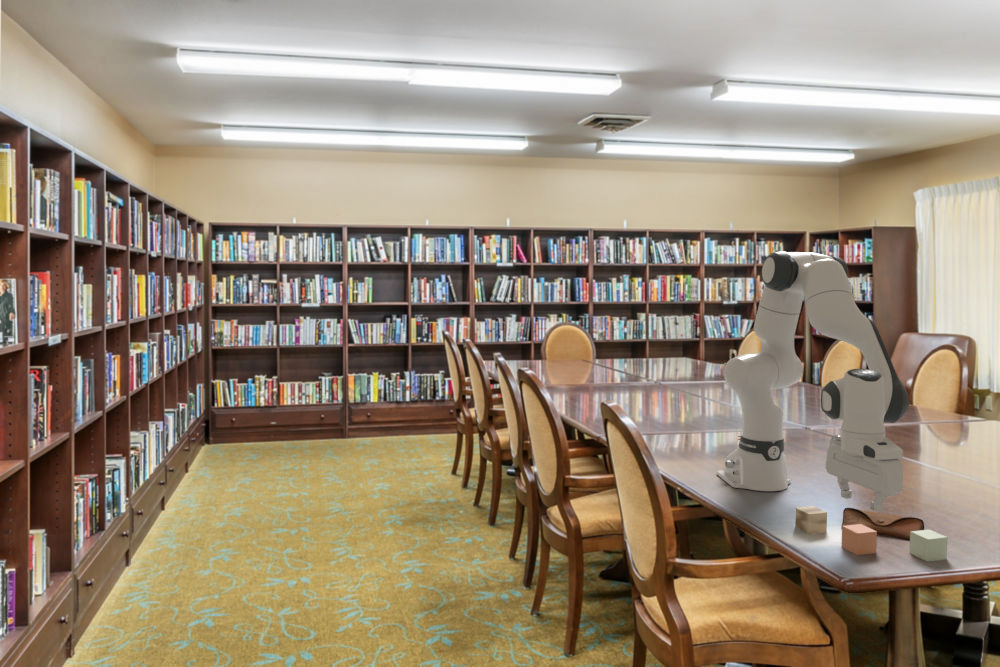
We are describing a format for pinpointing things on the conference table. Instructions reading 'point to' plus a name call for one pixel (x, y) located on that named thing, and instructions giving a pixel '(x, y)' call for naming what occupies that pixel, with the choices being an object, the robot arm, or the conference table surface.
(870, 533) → the rust block
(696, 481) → the conference table surface
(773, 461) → the robot arm
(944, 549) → the sage block
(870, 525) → the sunglasses case
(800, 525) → the maple block
